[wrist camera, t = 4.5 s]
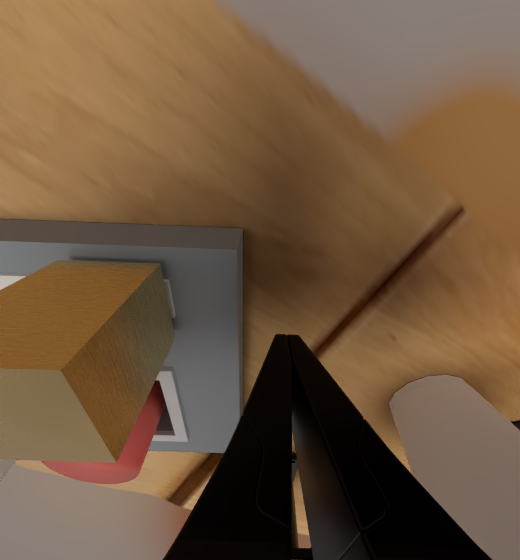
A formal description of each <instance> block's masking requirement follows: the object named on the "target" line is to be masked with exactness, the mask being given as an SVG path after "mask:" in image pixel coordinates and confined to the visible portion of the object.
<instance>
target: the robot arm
mask: <svg viewBox="0 0 520 560" xmlns="http://www.w3.org/2000/svg"><path fill="white" fill-rule="evenodd" d="M292 432H293V438H294V444H295V450H296V455H292ZM297 465H298V469H299V475H300V481H301V487H302V493H303V499H304V505H305V511H306V517H307V523H308V529H309V535H310V541H311V548H299V546H298V535H297V524H296V513H295V501H294V490H293V481H294V477H295V473H296V469H297ZM163 560H492V559H491V558H490V557H489V556H488V555H487V554H486V553H485V552H484V551H483V550H482V549H481V548H480V547H479V546H478V545H477V544H476V543H475V542H474V541H473V540H472V539H471V538H470V537H469V536H468V535H467V534H466V532H465V531H464V530H463V529H462V528H461V527H460V526H459V525H458V524H457V523H456V522H455V521H454V519H453V518H452V517H451V516H450V515H449V514H448V513H447V512H446V511H445V510H444V509H443V508H442V506H441V505H440V504H439V503H438V502H437V501H436V500H435V499H434V498H433V497H432V496H431V495H430V493H429V492H428V491H427V490H426V489H425V488H424V487H423V486H422V485H421V484H420V483H419V482H418V480H417V479H416V478H415V477H414V476H413V475H412V474H411V473H410V472H409V471H408V469H407V468H406V467H405V466H404V465H403V464H402V463H401V462H400V461H399V459H398V458H397V457H396V456H395V455H394V454H393V453H392V452H391V450H390V449H389V448H388V447H387V446H386V444H385V443H384V442H383V441H382V439H381V438H380V437H379V436H378V435H377V433H376V432H375V431H374V430H373V428H372V427H371V426H370V425H369V423H368V422H367V421H366V420H365V419H364V420H363V416H362V415H361V413H360V412H359V411H358V410H357V408H356V407H355V406H354V404H353V403H352V402H351V401H350V399H349V398H348V397H347V396H346V394H345V393H344V392H343V391H342V389H341V388H340V387H339V386H338V384H337V383H336V382H335V380H334V379H333V378H332V377H331V375H330V374H329V373H328V372H327V370H326V369H325V368H324V367H323V365H322V364H321V363H320V361H319V360H318V359H317V358H316V356H315V355H314V354H313V353H312V351H311V350H310V349H309V348H308V346H307V345H306V344H305V343H304V341H303V340H302V339H301V337H300V336H299V335H290V334H289V335H286V334H276V335H275V337H274V339H273V342H272V344H271V346H270V349H269V351H268V353H267V356H266V358H265V361H264V363H263V365H262V368H261V370H260V372H259V375H258V377H257V380H256V382H255V384H254V387H253V389H252V391H251V394H250V396H249V399H248V401H247V403H246V406H245V408H244V411H243V413H242V416H241V417H240V420H239V422H238V424H237V427H236V429H235V431H234V433H233V436H232V438H231V440H230V442H229V444H228V446H227V448H226V450H225V452H224V454H223V456H222V458H221V460H220V462H219V464H218V466H217V467H216V469H215V471H214V473H213V475H212V476H211V478H210V480H209V482H208V483H207V485H206V487H205V489H204V490H203V492H202V494H201V496H200V498H199V499H198V501H197V503H196V505H195V506H194V508H193V510H192V512H191V513H190V515H189V517H188V519H187V521H186V522H185V524H184V526H183V528H182V529H181V531H180V533H179V534H178V536H177V538H176V539H175V541H174V543H173V544H172V546H171V547H170V549H169V551H168V552H167V554H166V555H165V557H164V558H163Z"/></svg>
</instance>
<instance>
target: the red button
mask: <svg viewBox="0 0 520 560" xmlns="http://www.w3.org/2000/svg"><path fill="white" fill-rule="evenodd" d="M165 405H166V401H165V398H164V395H163V391H162V388H161V384H160V381H159V380H155V382H154V385H153V387H152V389H151V391H150V393H149V395H148V397H147V399H146V401H145V404H144V406H143V408H142V410H141V412H140V414H139V416H138V418H137V421H136V423H135V425H134V427H133V429H132V431H131V433H130V435H129V437H128V440H127V442H126V444H125V446H124V448H123V450H122V452H121V454H120V457H119V459H118V461H117V463H106V462H72V461H42V462H43V463H44V464H45V465H46V466H47V467H49V468H50V469H52V470H53V471H55V472H57V473H59V474H62V475H64V476H67V477H70V478H73V479H76V480H80V481H85V482H91V483H99V484H117V483H123V482H127V481H130V480H133V479H134V478H136V477H137V476H138V474H139V473H140V470H141V467H142V465H143V462H144V460H145V457H146V454H147V452H148V449H149V447H150V444H151V441H152V439H153V436H154V434H155V431H156V428H157V426H158V423H159V421H160V418H161V416H162V413H163V410H164V408H165Z"/></svg>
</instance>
